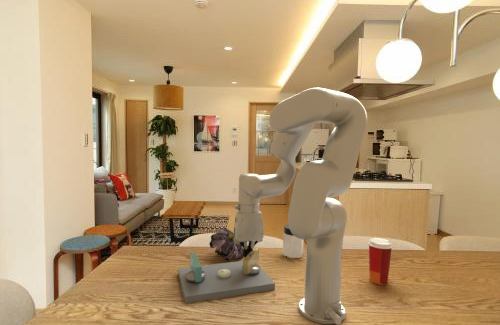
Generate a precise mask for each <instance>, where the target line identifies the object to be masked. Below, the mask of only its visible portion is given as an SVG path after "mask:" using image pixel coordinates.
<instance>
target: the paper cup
mask: <svg viewBox="0 0 500 325" xmlns="http://www.w3.org/2000/svg"><path fill="white" fill-rule="evenodd" d="M367 245H368V260H369V261H368V267H369V269H368V270H369V281H370V282H371V284H375V285H379V286H386V285H387V284H388V282H389V274H390V268H391V267H390V264H391V256H392V249H393V247H394V246H393V245H392V242H391V240H388V239H385V238H379V237H373V238H370V239H369V240H368V242H367ZM385 284H386V285H385Z"/></svg>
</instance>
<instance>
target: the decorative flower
mask: <svg viewBox="0 0 500 325" xmlns="http://www.w3.org/2000/svg"><path fill="white" fill-rule="evenodd" d="M215 232H216V233H212V234H211V236H210V237H209V238H210V241H209V248H211V249H214V248H215V251H214V253H215V254H217V255H218V256H219V257H224V261H225V262H229V261H230V260H232V258H233V257H234V255H235V258H236V262H238V261H242V259H243V258H245V257H244V256H243V247H242V246H241V245H240V244H235V243H234V242H233V241H234V231H232V230H230V229H227V228H219V229H216V230H215Z"/></svg>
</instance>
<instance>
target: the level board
mask: <svg viewBox="0 0 500 325" xmlns="http://www.w3.org/2000/svg"><path fill="white" fill-rule="evenodd" d="M257 265H259V263H257ZM201 266H202V271H204V272H205V280H204V281H202V282H199V283H190V282H188V281H187V280H186V274H187V272H189V271H192V270H191V267H190V266H188V267H187V266H186V267H181V268H180V267H178V269H177V270H178V271H177V272H178V278H180V279H179V282H180V287H182V288H181V291H182V296H183V300H184V304H191V303H192V304H193V303H198V302H204V301H210V300H216V299H224V298H229V297H235V296H242V295H247V294H254V293H260V292H261V293H262V292H267V291H268V292H269V291H272V290H273V291H274V290H275V289H276V288H275V287H276V286H275V285H276V283H275V282H274V281H273V279H271V277H270V276H269V275H268V274H267V273H266V271H265V270H263V269H262V267H261V266H260V273H259V274H257V275H246V274H243V272H242V268H243V260H238V261H231V262H229V261H228V262H222V263H221V262H220V263H212V264H205V265H204V264H203V265H201Z"/></svg>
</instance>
